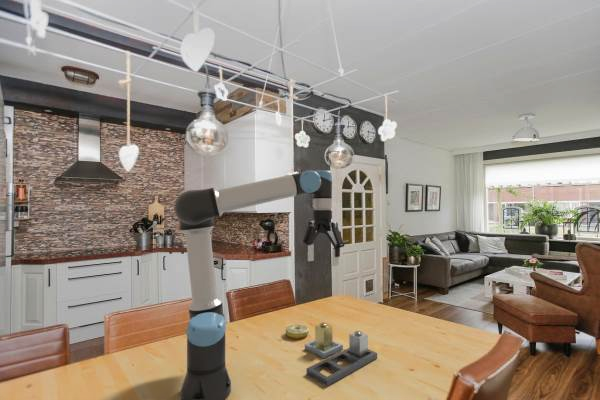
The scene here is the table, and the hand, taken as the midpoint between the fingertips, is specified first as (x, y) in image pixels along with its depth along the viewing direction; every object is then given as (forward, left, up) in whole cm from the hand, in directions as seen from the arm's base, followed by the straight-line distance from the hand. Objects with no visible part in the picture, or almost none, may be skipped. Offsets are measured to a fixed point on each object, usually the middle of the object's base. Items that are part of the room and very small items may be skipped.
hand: (322, 263), depth 122 cm
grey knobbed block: (+9, -10, -36) cm, 39 cm away
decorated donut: (+6, +22, -37) cm, 43 cm away
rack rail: (0, -10, -36) cm, 38 cm away
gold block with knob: (+4, +4, -36) cm, 36 cm away
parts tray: (+4, +4, -36) cm, 37 cm away
